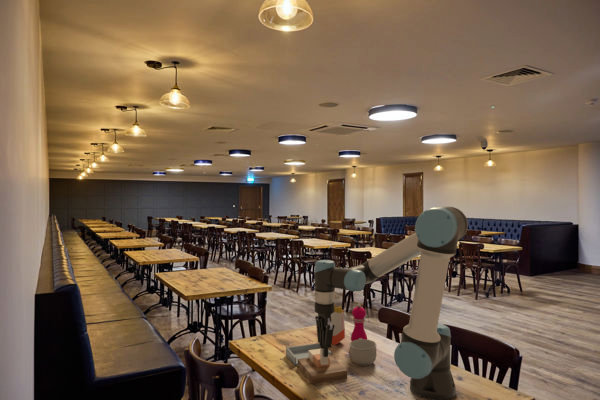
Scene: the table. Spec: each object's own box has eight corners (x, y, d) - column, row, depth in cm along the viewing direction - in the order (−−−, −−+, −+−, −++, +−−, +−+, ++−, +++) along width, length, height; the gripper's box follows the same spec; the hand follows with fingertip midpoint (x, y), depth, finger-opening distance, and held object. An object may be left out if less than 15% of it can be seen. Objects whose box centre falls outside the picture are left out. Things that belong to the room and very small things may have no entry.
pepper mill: (352, 344, 183) (352, 300, 183) (368, 346, 181) (368, 302, 181) (349, 350, 176) (349, 305, 176) (365, 352, 174) (365, 306, 174)
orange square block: (329, 365, 153) (329, 357, 153) (317, 367, 151) (317, 359, 151) (324, 360, 158) (324, 353, 158) (312, 362, 156) (312, 354, 156)
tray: (331, 360, 165) (331, 352, 165) (294, 366, 159) (294, 357, 159) (320, 350, 176) (320, 342, 176) (286, 355, 170) (286, 347, 170)
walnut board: (347, 378, 149) (347, 370, 149) (312, 384, 144) (312, 375, 144) (329, 361, 164) (330, 354, 164) (297, 366, 159) (297, 359, 159)
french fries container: (324, 338, 191) (324, 300, 191) (345, 342, 185) (345, 304, 185) (319, 341, 187) (319, 302, 187) (340, 346, 181) (340, 306, 181)
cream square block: (324, 360, 158) (324, 353, 158) (312, 362, 156) (312, 354, 156) (319, 356, 162) (319, 348, 162) (308, 357, 161) (308, 350, 161)
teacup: (376, 369, 157) (376, 349, 157) (348, 367, 159) (348, 347, 159) (376, 355, 170) (376, 337, 170) (351, 353, 172) (351, 335, 172)
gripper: (309, 298, 156) (308, 358, 156) (322, 307, 144) (321, 372, 144) (326, 296, 158) (326, 356, 159) (341, 305, 146) (340, 369, 146)
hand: (324, 364), depth 151 cm, fingers closed
